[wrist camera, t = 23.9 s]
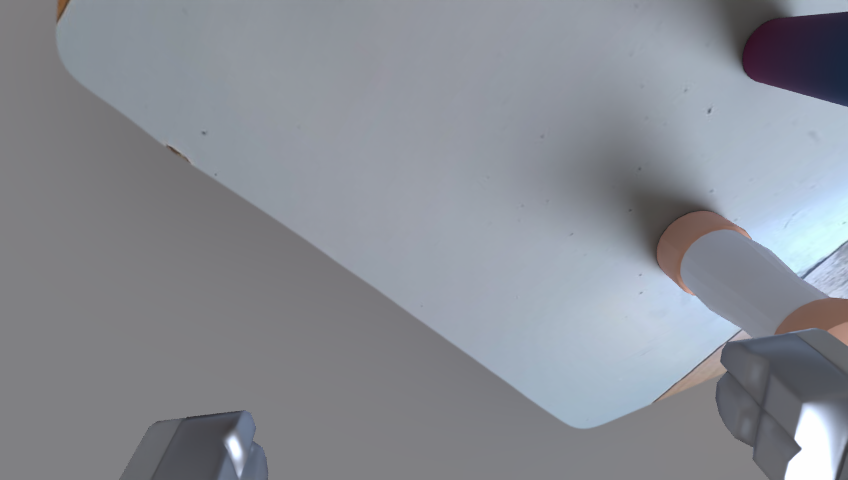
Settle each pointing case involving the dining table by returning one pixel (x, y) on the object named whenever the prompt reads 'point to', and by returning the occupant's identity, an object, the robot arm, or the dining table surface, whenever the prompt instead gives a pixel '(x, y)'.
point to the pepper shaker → (744, 279)
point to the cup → (802, 55)
